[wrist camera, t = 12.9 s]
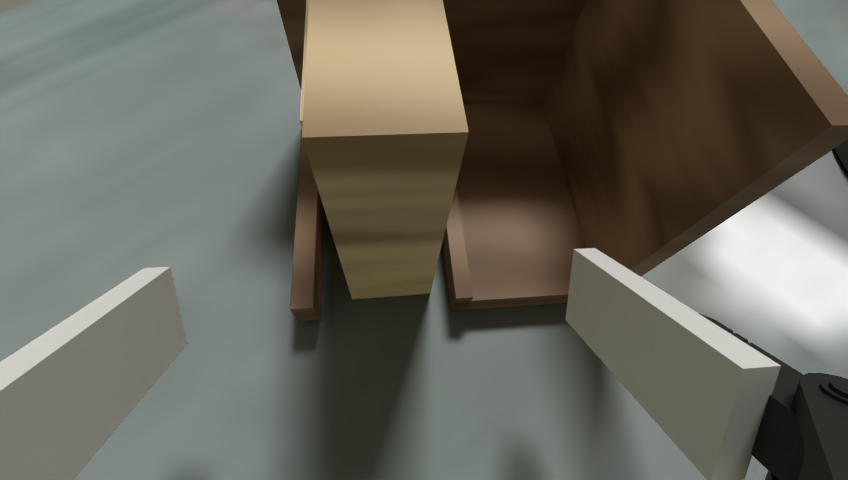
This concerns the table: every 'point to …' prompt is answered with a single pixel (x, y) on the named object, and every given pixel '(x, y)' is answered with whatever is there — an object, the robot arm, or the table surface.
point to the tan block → (383, 136)
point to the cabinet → (602, 136)
